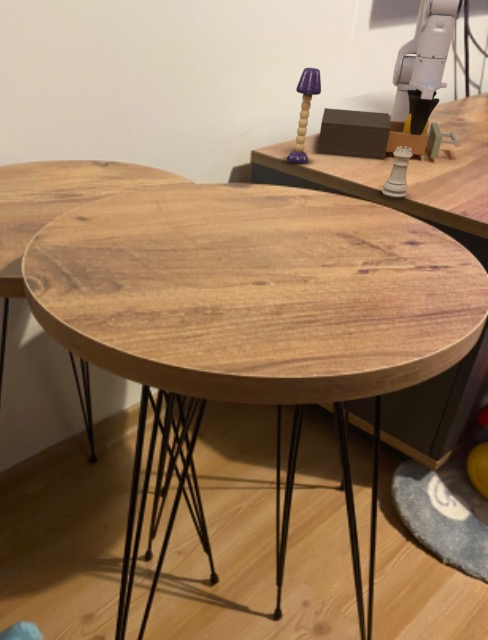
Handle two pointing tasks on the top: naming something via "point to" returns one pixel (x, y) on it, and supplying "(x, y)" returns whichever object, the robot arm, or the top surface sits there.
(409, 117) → the pepper
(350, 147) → the cabinet
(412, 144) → the drawer
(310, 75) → the toy lamp
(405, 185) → the rook chess piece
